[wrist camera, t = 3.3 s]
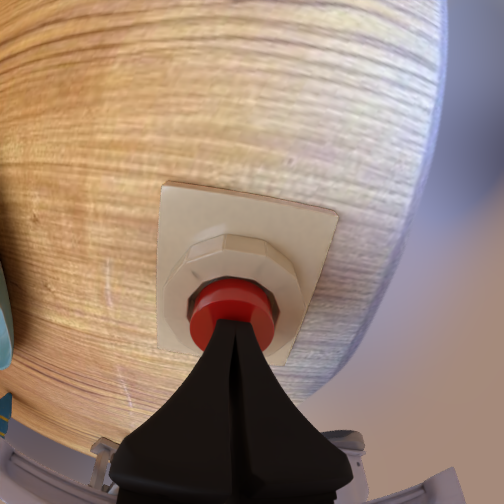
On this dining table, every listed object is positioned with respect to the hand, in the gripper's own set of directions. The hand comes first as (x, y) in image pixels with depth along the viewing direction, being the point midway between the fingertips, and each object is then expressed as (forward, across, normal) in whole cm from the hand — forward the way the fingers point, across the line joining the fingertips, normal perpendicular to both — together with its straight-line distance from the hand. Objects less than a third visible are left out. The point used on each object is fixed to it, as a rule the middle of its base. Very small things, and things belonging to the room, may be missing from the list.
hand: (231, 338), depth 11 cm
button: (+2, 0, 0) cm, 2 cm away
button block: (+4, 0, 0) cm, 4 cm away
